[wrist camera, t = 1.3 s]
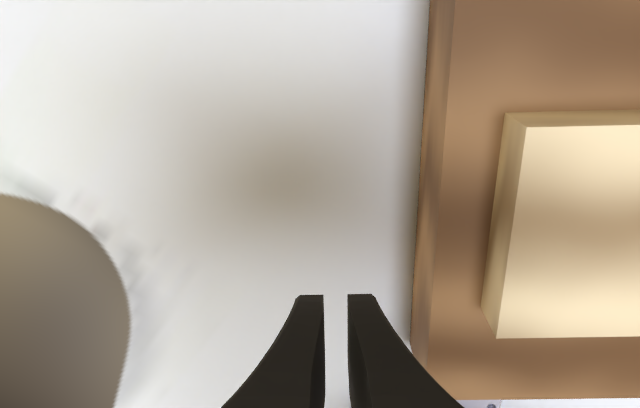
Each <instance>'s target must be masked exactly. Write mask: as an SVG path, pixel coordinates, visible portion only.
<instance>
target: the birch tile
mask: <svg viewBox="0 0 640 408" xmlns="http://www.w3.org/2000/svg"><path fill="white" fill-rule="evenodd" d="M481 309H482V311H483V313H484V315H485V317H486V319H487V321H488V323H489V325H490V327H491V329H492V331H493V333H494V335H495V337H496V339H499V338H566V337H633V336H640V110H599V111H554V112H509V113H505V115H504V123H503V131H502V139H501V147H500V155H499V163H498V171H497V179H496V187H495V195H494V203H493V211H492V219H491V227H490V235H489V243H488V251H487V259H486V267H485V275H484V283H483V291H482V299H481Z"/></svg>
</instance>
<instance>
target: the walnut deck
mask: <svg viewBox="0 0 640 408" xmlns="http://www.w3.org/2000/svg"><path fill="white" fill-rule="evenodd" d="M599 110H640V0H430V11H429V28H428V44H427V61H426V78H425V95H424V112H423V129H422V146H421V163H420V179H419V196H418V213H417V230H416V247H415V264H414V281H413V297H412V314H411V331H410V345H411V349H412V353H413V356H414V357H415V358H416V359H417V360H418V362H419V363H420V364H421V365H422V366H423V367H424V369H425V370H426V371H427V372H428V373H429V374H430V375H431V376H432V377H433V378H434V379H435V381H436V382H437V383H438V384H439V385H440V386H441V387H442V388H443V389H444V390H445V391H447V392H448V393H449V394H450V395H451V396H452V397H453V398H454V399H455V400H506V399H584V398H640V336H633V337H566V338H499V339H496V337H495V335H494V333H493V331H492V329H491V327H490V325H489V323H488V321H487V319H486V317H485V315H484V313H483V311H482V309H481V299H482V291H483V283H484V275H485V267H486V259H487V251H488V243H489V235H490V227H491V219H492V211H493V203H494V195H495V187H496V179H497V171H498V163H499V155H500V147H501V139H502V131H503V123H504V115H505V113H509V112H554V111H599Z"/></svg>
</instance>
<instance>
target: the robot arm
mask: <svg viewBox="0 0 640 408" xmlns="http://www.w3.org/2000/svg"><path fill="white" fill-rule="evenodd" d="M348 373H349V392H350V400H351V406H352V408H500V405H501V400H455V399H454V398H453V397H452V396H451V395H450V394H449V393H448V392H447V391H445V390H444V389H443V388H442V387H441V386H440V385H439V384H438V383H437V382H436V381H435V379H434V378H433V377H432V376H431V375H430V374H429V373H428V372H427V371H426V370H425V369H424V367H423V366H422V365H421V364H420V363H419V362H418V360H417V359H416V358H415V357H414V356H413V354H412V353H411V352H410V351H409V349H408V348H407V347H406V345H405V344H404V343H403V341H402V340H401V339H400V337H399V336H398V334H397V333H396V332H395V330H394V329H393V327H392V326H391V324H390V323H389V321H388V320H387V318H386V316H385V315H384V313H383V311H382V310H381V308H380V306H379V304H378V302H377V300H376V298H375V297H374V296H373V295H372V294H348ZM324 402H325V342H324V303H323V295H300V296H298V297H297V298H296V299H295V302H294V305H293V307H292V310H291V312H290V314H289V316H288V318H287V320H286V322H285V324H284V326H283V327H282V329H281V331H280V332H279V334H278V336H277V337H276V339H275V341H274V342H273V344H272V346H271V347H270V349H269V350H268V351H267V353H266V354H265V356H264V357H263V359H262V360H261V361H260V363H259V364H258V366H257V367H256V368H255V370H254V371H253V372H252V373H251V375H250V376H249V377H248V378H247V380H246V381H245V382H244V383H243V384H242V386H241V387H240V388H239V389H238V390H237V391H236V392H235V394H234V395H233V396H232V397H231V398H230V399H229V400H228V401H227V402H226V403H225V404H224V405H223V406H222V407H221V408H324ZM489 404H492V405H490V406H488V405H489Z"/></svg>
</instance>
